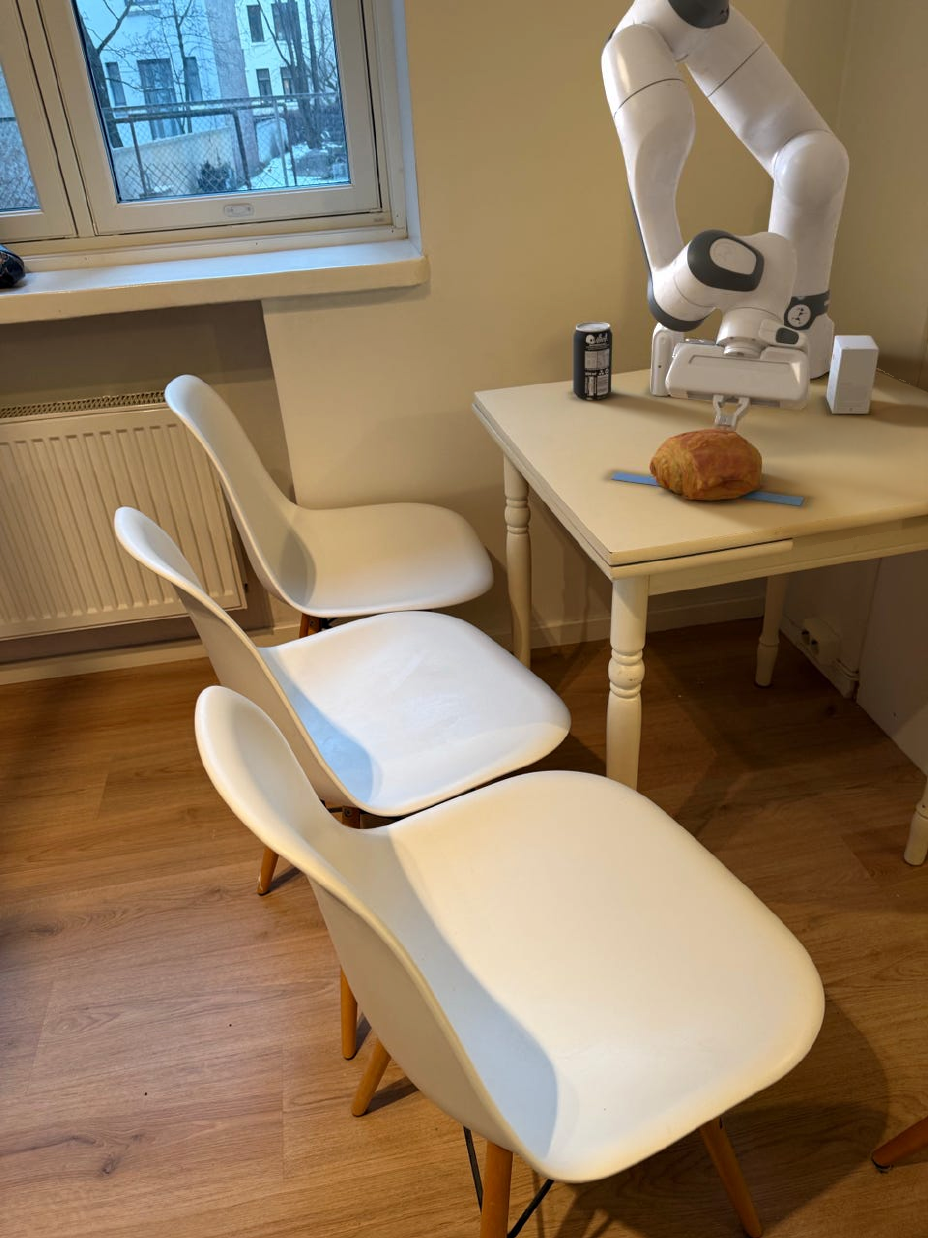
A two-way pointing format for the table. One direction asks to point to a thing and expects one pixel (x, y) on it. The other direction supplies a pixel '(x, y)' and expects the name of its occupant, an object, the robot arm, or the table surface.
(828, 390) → the small box
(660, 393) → the photo printer
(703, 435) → the croissant
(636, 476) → the tape line
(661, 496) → the table surface
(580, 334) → the beverage can
